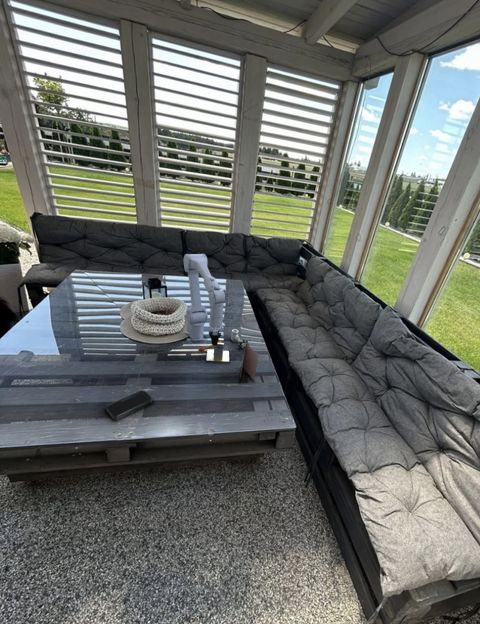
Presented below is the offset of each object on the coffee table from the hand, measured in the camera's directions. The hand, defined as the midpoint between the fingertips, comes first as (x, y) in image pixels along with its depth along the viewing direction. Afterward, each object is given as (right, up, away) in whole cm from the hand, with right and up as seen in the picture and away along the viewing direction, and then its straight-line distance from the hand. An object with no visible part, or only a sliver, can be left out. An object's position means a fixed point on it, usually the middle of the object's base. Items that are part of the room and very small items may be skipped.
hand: (215, 340), depth 137 cm
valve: (+9, -2, +20) cm, 22 cm away
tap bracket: (0, -8, +7) cm, 11 cm away
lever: (-3, -4, +4) cm, 6 cm away
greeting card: (+15, -17, -1) cm, 23 cm away
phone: (-28, -26, -27) cm, 47 cm away
